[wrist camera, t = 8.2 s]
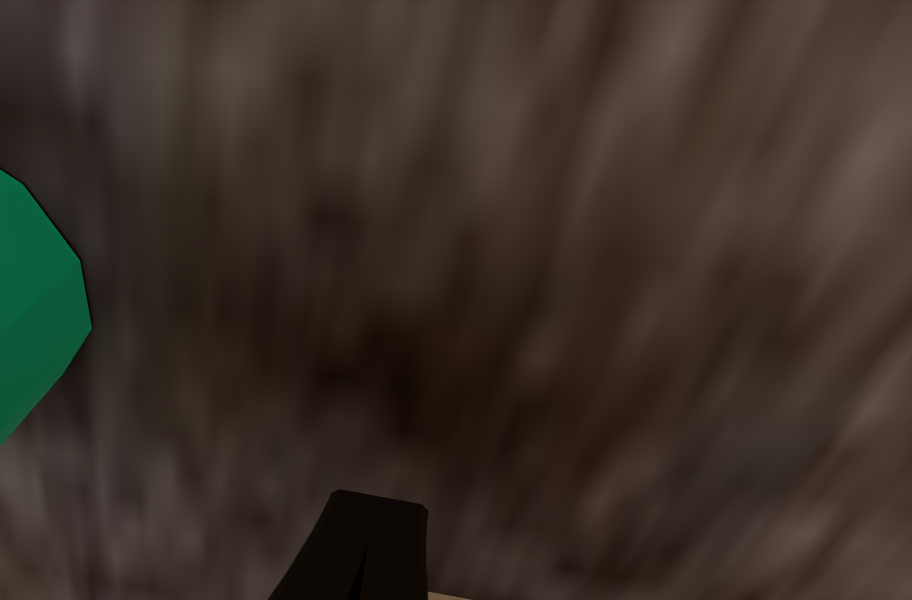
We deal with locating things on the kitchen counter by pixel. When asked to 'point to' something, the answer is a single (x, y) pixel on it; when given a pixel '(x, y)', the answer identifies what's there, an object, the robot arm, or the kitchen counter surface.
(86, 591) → the kitchen counter surface
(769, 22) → the kitchen counter surface
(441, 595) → the letter cube
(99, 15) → the kitchen counter surface
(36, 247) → the candle
